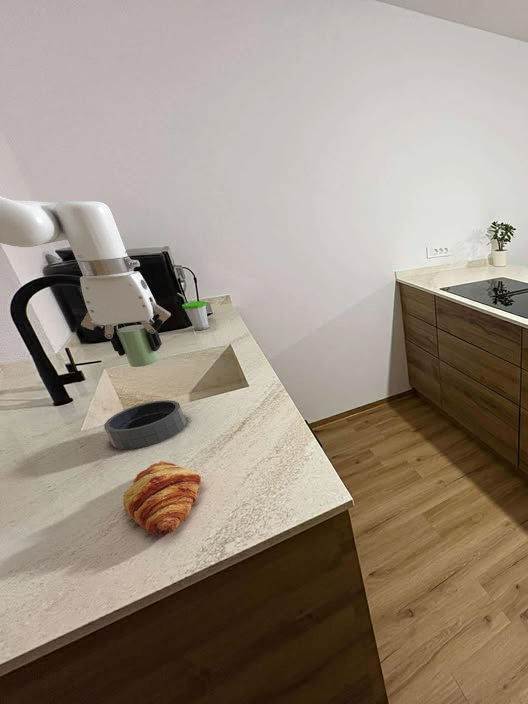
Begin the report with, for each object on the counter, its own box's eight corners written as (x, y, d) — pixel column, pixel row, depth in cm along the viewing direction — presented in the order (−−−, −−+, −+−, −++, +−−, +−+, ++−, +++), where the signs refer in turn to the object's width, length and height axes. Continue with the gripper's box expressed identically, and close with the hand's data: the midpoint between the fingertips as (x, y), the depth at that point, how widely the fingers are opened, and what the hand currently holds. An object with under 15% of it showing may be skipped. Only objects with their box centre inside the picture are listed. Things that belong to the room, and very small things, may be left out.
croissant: (151, 493, 71) (109, 472, 66) (199, 453, 74) (163, 430, 69) (158, 567, 56) (105, 547, 51) (218, 512, 60) (174, 488, 55)
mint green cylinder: (126, 368, 80) (111, 333, 77) (134, 360, 85) (120, 326, 81) (155, 364, 82) (142, 330, 79) (162, 356, 86) (149, 323, 83)
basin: (103, 458, 75) (93, 437, 73) (126, 426, 86) (117, 407, 84) (179, 441, 80) (171, 422, 78) (192, 413, 91) (185, 395, 89)
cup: (218, 326, 153) (207, 290, 147) (201, 332, 146) (189, 294, 140) (202, 325, 155) (191, 289, 149) (185, 331, 148) (172, 293, 142)
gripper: (164, 261, 81) (191, 340, 89) (59, 268, 75) (97, 352, 82) (153, 267, 75) (183, 350, 83) (38, 274, 69) (81, 364, 76)
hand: (140, 350), depth 82 cm, fingers closed on mint green cylinder, 5 cm apart
